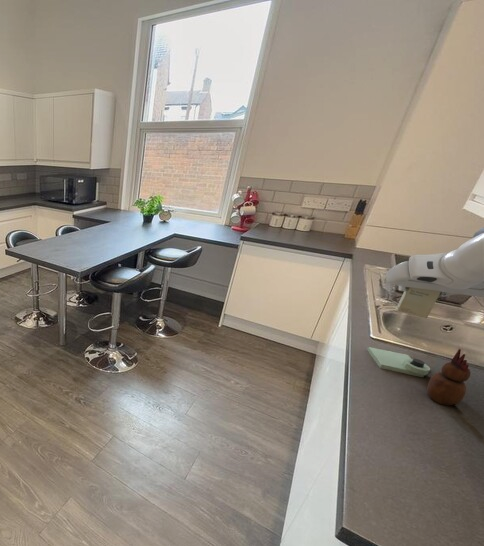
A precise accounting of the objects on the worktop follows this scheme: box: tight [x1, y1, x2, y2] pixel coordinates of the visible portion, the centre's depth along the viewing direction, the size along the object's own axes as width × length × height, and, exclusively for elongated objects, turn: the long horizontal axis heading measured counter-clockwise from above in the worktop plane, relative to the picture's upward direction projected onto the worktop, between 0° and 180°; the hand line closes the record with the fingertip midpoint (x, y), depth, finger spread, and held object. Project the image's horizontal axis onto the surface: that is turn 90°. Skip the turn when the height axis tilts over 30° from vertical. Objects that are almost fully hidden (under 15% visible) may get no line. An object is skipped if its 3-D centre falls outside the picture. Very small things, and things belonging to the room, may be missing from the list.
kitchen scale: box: [367, 346, 431, 378], centre depth 96 cm, size 11×11×3 cm
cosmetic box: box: [396, 287, 441, 319], centre depth 88 cm, size 6×4×12 cm
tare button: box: [411, 358, 426, 368], centre depth 92 cm, size 2×2×2 cm
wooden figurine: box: [426, 348, 471, 406], centre depth 80 cm, size 7×6×15 cm
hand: (420, 291), depth 89 cm, fingers closed on cosmetic box, 7 cm apart
